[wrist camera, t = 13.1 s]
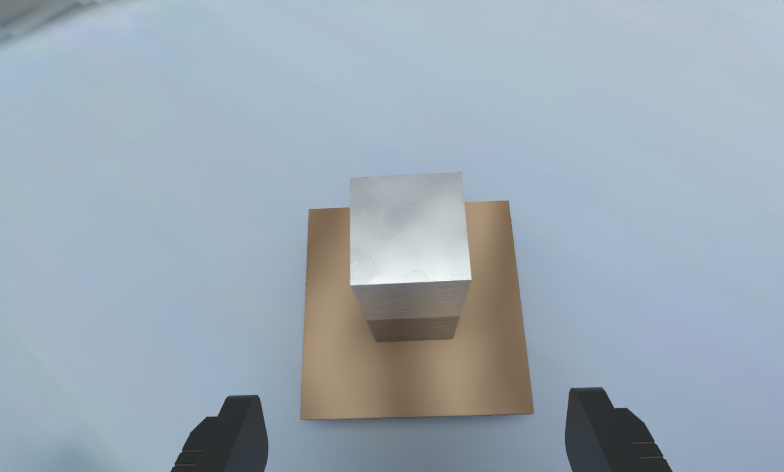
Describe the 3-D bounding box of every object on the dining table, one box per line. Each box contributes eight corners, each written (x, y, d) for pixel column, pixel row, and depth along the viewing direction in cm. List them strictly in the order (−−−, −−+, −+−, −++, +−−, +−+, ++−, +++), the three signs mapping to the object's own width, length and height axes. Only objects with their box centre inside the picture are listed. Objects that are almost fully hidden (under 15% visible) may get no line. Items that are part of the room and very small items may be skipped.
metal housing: (447, 266, 32) (461, 172, 21) (452, 339, 30) (471, 279, 19) (374, 269, 32) (350, 178, 21) (376, 342, 30) (350, 285, 19)
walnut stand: (499, 224, 37) (508, 200, 33) (520, 416, 32) (533, 413, 28) (320, 232, 37) (308, 209, 34) (314, 422, 33) (300, 419, 29)
